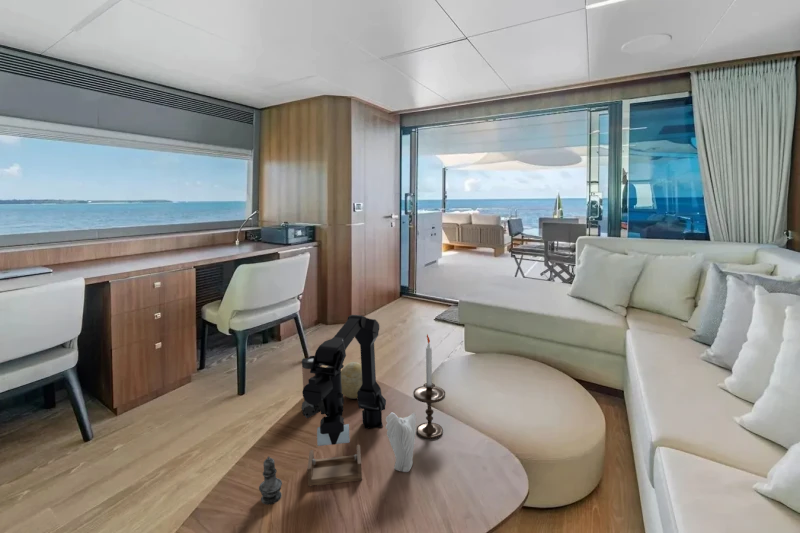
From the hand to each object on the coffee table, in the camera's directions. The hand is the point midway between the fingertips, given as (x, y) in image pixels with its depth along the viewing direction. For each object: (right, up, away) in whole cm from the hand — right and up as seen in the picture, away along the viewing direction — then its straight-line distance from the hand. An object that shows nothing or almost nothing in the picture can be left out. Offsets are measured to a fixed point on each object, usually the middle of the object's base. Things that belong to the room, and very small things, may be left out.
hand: (334, 438), depth 112 cm
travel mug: (-15, -6, +40) cm, 43 cm away
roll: (0, -1, 0) cm, 1 cm away
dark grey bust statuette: (-16, -12, -8) cm, 21 cm away
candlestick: (+29, -7, +22) cm, 37 cm away
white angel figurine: (+20, -10, +3) cm, 23 cm away
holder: (0, -11, +1) cm, 11 cm away
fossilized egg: (0, -4, +49) cm, 49 cm away
